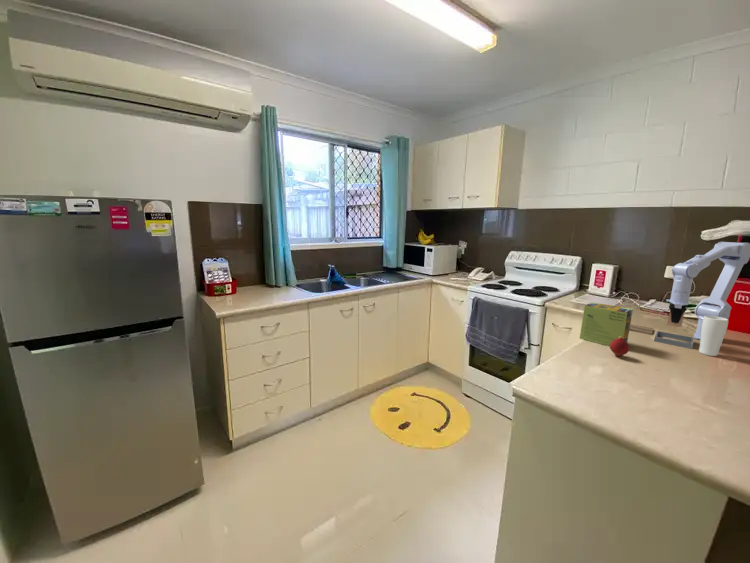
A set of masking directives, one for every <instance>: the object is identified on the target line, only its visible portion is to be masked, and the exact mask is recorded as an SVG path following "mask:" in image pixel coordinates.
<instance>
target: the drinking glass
mask: <svg viewBox="0 0 750 563" xmlns="http://www.w3.org/2000/svg"><path fill="white" fill-rule="evenodd" d="M728 325H729V318H728V319H726V318H722V317H717V316H704V318H703V322H702V327H701V338H700V339H699V348H698V352H699V353H700V354H702V355H705V356H710V357H718V356H719V353H720V349H721V346H722V343H723V341H724V338H725V336H726V333H727V329H728Z"/></svg>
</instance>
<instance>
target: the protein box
mask: <svg viewBox="0 0 750 563" xmlns="http://www.w3.org/2000/svg"><path fill="white" fill-rule="evenodd" d="M633 311H634V308H630V307H629V308H628V307H623V306H617V305H612V304H605V303H599V302H590V303H587V304H585V305H584V307H583V313H582V320H581V326H580V327H581V328H580V333H579V339H580V340H583V341H587V342H591V343H595V342H596V343H595V344H599V343H600V344H599V345H603V344H604V345H603V346H607V345H608V347H610V343H611V342H612V341H613V340H615V339H617V338H618V337H619V336H621V337H622V338H623V339H624V340H625V341H626V342H627V343H628V341H629V334H630V330H629V329H630V324H631V323H632V316H633Z"/></svg>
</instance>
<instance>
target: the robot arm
mask: <svg viewBox="0 0 750 563" xmlns="http://www.w3.org/2000/svg"><path fill="white" fill-rule="evenodd" d="M717 259H719V261H721V262H723V263H724V266H723V269H722V271H721V273H720V274H719V277H718V278H717V280H716V283H715V284H714V286H713V289H712V290H711V293H710V295H709V297H706V298H703V299H701V300H700V301H699V303H698V304H697V305H696V306H695V308H694V314H695V316H696V318H697V319H698V321H697V325H696V329H695V332H694V333H693V339H696V340H700V338H701V327H702V322H703V318H704V316H717V317H722V318H726V319H728V320H729V318H730V315H731V310H732V306H731V305H730V304H729V303H728V302H727V300H728V298H729V295H730V293H731V292H732V289H733V287H734V285H735V284H736V281H737V279H738V277H739V276H740V273H741V271H742V268H743V267H744V265H746V264H748V262H749V260H750V242H733V241H732V242H730V241H718V242H717V243H715V244H714V246H713V248H712V249H711V250H709V251H708V252H706V253H705V254H696V255H695V256H694V257H692V258H690V259H688V260H686V261H684V262H678V263H677V264H675V265H674V266H673V268H672V269H671V274H672V280H673V284H672V289H671V293H670V298H669V299H666V300H665V301H666V302H669V305H668V308H669V312H670V311H671V322H673V323H679V321H680V319H681V316H682V315H683V313H684V314H685V312H686V311H687V310H688V309H687V307H688V305H689V302H690V294H691V290H692V284H693V281H694V278H696V277H698V275H699V273H701V271H702V270H704V269H705V268H707V267H709V266H710V265H711V262H713V261H715V260H717Z"/></svg>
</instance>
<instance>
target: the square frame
mask: <svg viewBox="0 0 750 563" xmlns="http://www.w3.org/2000/svg"><path fill="white" fill-rule="evenodd" d="M659 336H660V337H659ZM664 337H665V338H664ZM679 340H680V341H679ZM653 342H658V343H662V344H666V345H667V344H668V345H671V346H676V347H681V348H686V349H693V347H694V336H693V337H692V336H689V335H682V334H677V333H671V332H666V331H662V330H657V331H656V332H655V336H654V340H653ZM689 342H690V343H689Z"/></svg>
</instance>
